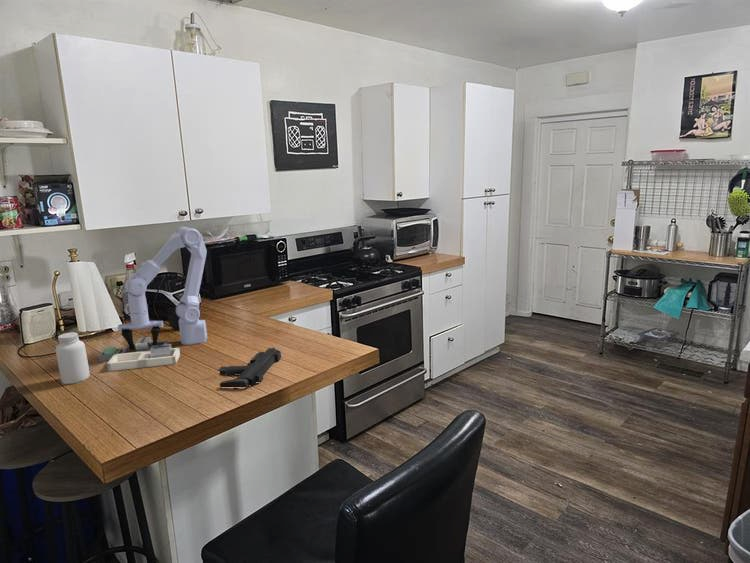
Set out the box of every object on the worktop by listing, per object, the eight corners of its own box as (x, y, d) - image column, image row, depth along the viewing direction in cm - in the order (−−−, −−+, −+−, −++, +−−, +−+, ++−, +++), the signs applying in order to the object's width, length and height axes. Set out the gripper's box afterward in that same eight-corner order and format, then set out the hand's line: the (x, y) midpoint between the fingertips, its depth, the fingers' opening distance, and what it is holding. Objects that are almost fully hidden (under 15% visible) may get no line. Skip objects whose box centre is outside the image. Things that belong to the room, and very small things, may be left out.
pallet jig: (180, 357, 172) (179, 347, 171) (176, 366, 164) (175, 356, 163) (115, 363, 168) (114, 354, 167) (108, 374, 159) (106, 364, 158)
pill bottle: (60, 386, 151) (51, 340, 147) (62, 377, 158) (54, 333, 154) (89, 381, 154) (81, 336, 151) (90, 372, 161) (83, 329, 158)
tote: (168, 346, 183) (167, 340, 182) (162, 358, 171) (161, 351, 171) (128, 351, 180) (127, 344, 179) (119, 363, 168) (118, 356, 168)
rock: (202, 326, 206) (200, 303, 204) (199, 329, 203) (197, 306, 200) (172, 327, 206) (169, 305, 204) (168, 330, 202) (165, 307, 200)
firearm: (233, 355, 176) (286, 353, 173) (192, 392, 147) (255, 390, 144) (231, 346, 176) (285, 344, 173) (190, 382, 146) (253, 379, 143)
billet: (152, 349, 179) (150, 336, 178) (149, 355, 173) (147, 341, 172) (140, 351, 178) (138, 337, 177) (136, 356, 172) (134, 343, 171)
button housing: (123, 356, 175) (122, 348, 174) (118, 362, 169) (117, 354, 169) (105, 357, 174) (103, 350, 173) (99, 364, 168) (98, 356, 167)
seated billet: (154, 359, 168) (152, 345, 167) (173, 357, 169) (171, 343, 168) (152, 363, 164) (149, 349, 163) (171, 361, 165) (169, 347, 164)
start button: (119, 354, 174) (117, 346, 173) (115, 358, 170) (114, 350, 169) (106, 355, 173) (105, 347, 172) (103, 359, 169) (102, 351, 168)
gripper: (162, 306, 177) (167, 342, 180) (119, 310, 174) (125, 346, 177) (159, 311, 171) (163, 348, 174) (114, 315, 168) (119, 353, 171)
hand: (143, 347), depth 175 cm, fingers open, 7 cm apart
